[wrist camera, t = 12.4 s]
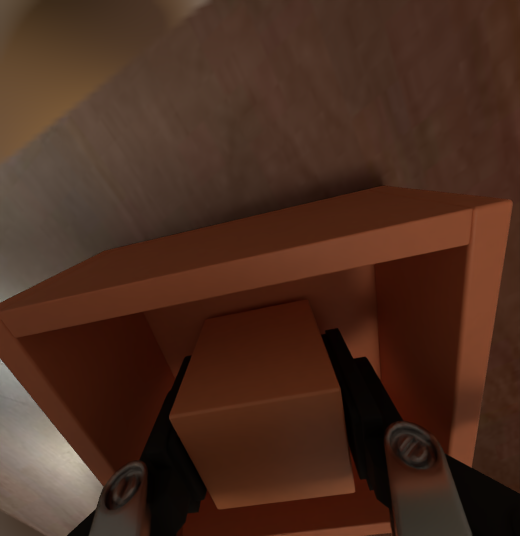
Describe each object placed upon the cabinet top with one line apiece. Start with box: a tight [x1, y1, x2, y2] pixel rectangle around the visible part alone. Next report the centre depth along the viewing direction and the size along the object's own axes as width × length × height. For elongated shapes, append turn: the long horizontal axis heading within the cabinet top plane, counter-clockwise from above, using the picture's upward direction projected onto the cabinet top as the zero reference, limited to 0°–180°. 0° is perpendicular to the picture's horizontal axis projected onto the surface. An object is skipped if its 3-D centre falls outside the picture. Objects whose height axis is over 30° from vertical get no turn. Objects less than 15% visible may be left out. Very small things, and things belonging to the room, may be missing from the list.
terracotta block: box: [169, 300, 355, 509], centre depth 9 cm, size 5×5×5 cm
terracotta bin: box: [0, 185, 513, 536], centre depth 10 cm, size 13×13×6 cm
